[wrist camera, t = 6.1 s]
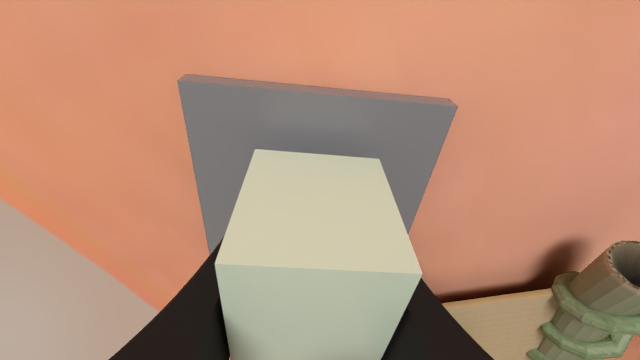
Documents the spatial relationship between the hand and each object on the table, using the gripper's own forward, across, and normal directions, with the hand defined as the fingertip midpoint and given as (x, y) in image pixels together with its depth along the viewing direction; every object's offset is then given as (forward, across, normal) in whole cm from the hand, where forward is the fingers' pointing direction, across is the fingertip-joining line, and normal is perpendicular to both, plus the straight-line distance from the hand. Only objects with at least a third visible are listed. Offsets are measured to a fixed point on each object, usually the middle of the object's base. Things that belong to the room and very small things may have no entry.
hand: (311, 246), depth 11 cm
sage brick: (+2, 0, 0) cm, 2 cm away
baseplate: (+3, 0, 0) cm, 3 cm away
